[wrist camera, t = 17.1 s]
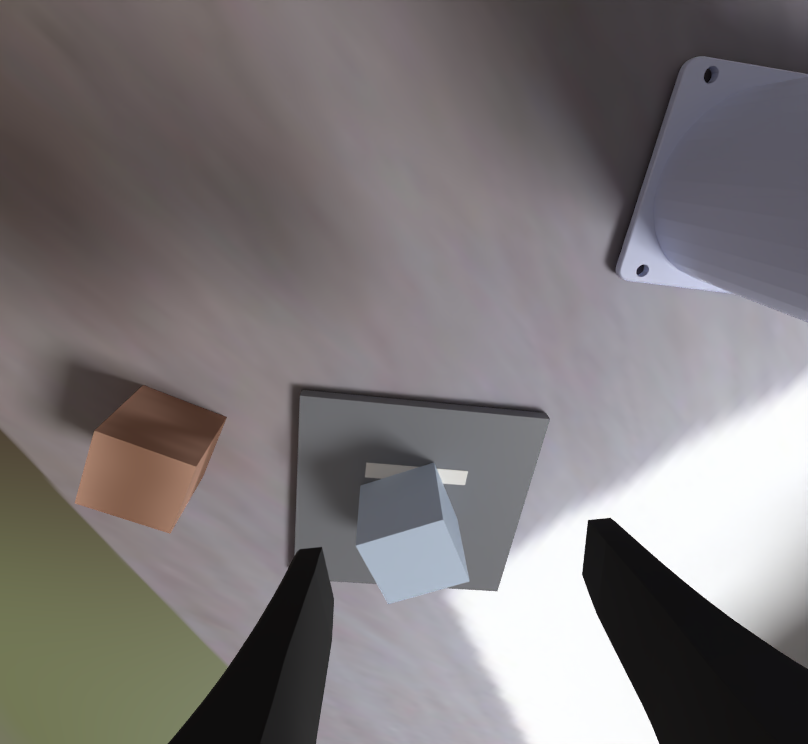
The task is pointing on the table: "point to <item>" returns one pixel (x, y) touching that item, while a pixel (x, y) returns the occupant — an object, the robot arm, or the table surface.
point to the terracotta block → (149, 458)
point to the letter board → (407, 449)
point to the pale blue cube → (410, 534)
